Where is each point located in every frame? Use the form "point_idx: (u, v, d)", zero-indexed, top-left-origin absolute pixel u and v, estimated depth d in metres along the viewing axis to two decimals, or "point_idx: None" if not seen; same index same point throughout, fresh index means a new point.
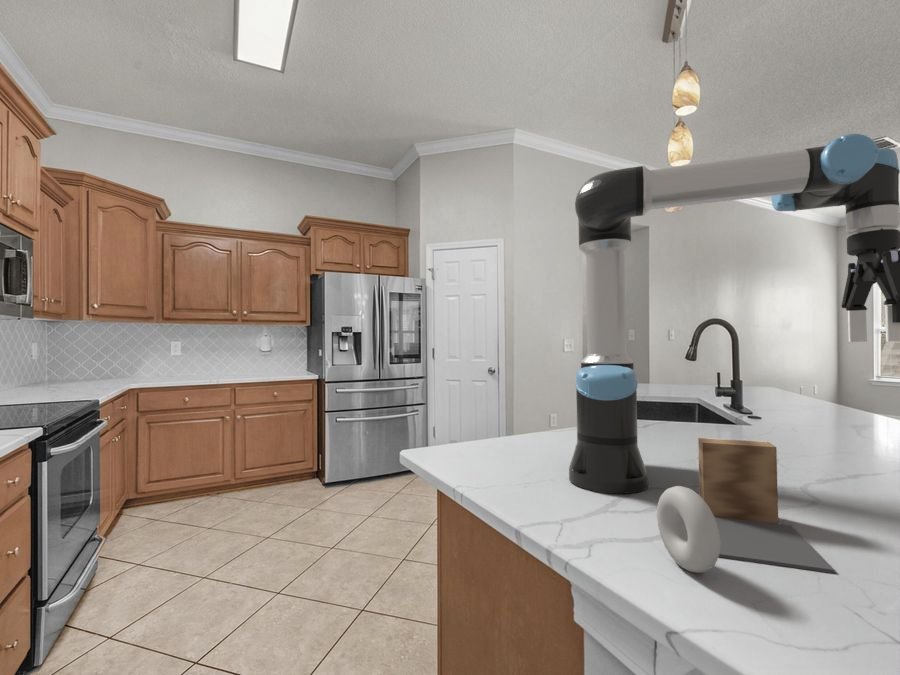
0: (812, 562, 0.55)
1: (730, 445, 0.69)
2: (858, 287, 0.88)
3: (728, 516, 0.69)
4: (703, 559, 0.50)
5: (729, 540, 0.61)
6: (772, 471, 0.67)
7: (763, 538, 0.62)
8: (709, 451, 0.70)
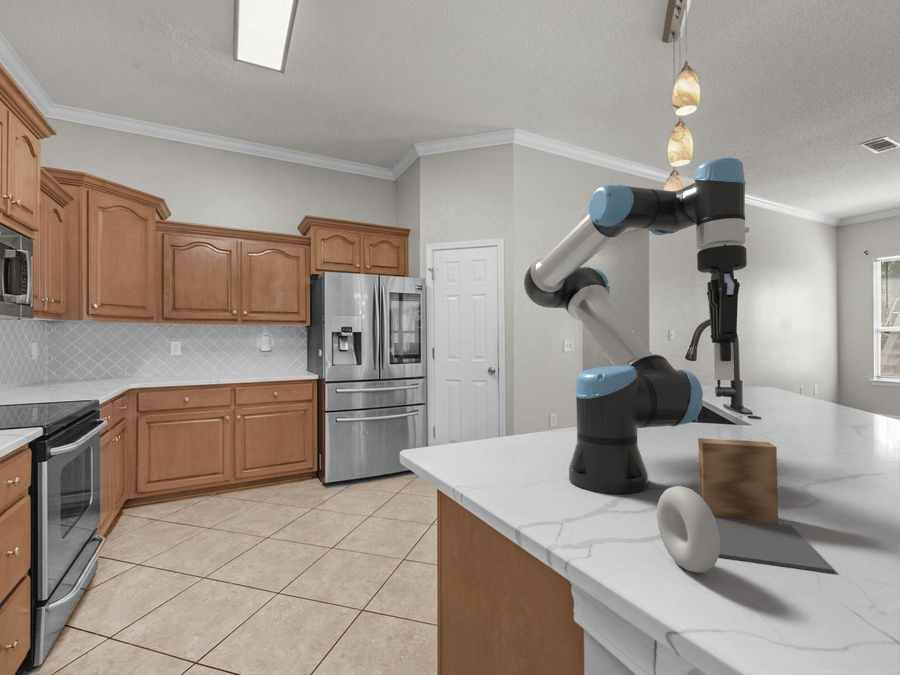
0: (812, 562, 0.55)
1: (730, 445, 0.69)
2: (715, 308, 0.79)
3: (728, 516, 0.69)
4: (703, 559, 0.50)
5: (729, 540, 0.61)
6: (772, 471, 0.67)
7: (763, 538, 0.62)
8: (709, 451, 0.70)
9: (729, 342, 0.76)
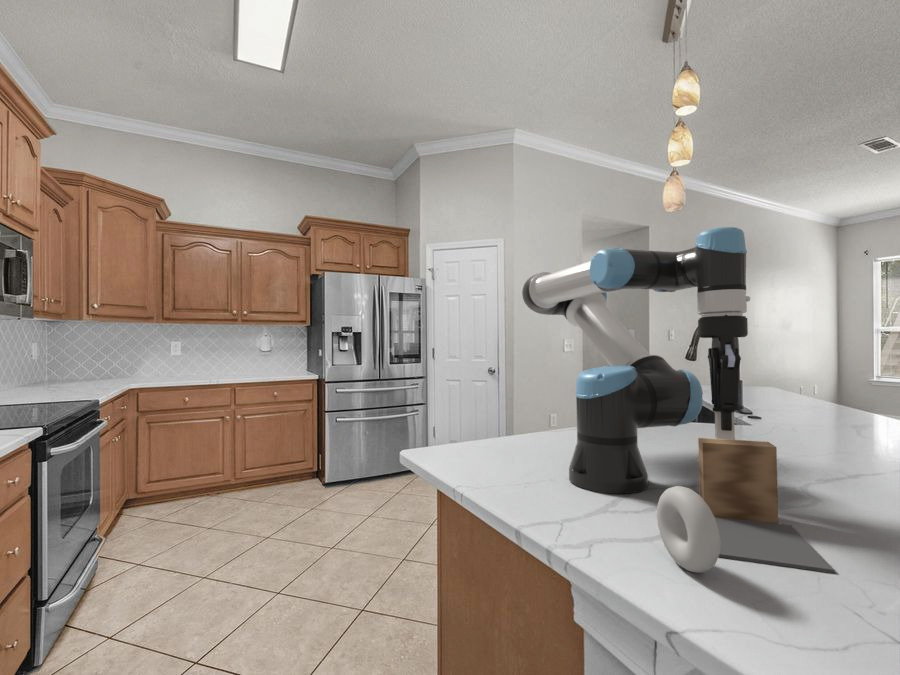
0: (812, 562, 0.55)
1: (730, 445, 0.69)
2: (716, 375, 0.79)
3: (728, 516, 0.69)
4: (703, 558, 0.50)
5: (729, 540, 0.61)
6: (772, 471, 0.67)
7: (763, 538, 0.62)
8: (709, 451, 0.70)
9: (730, 412, 0.76)
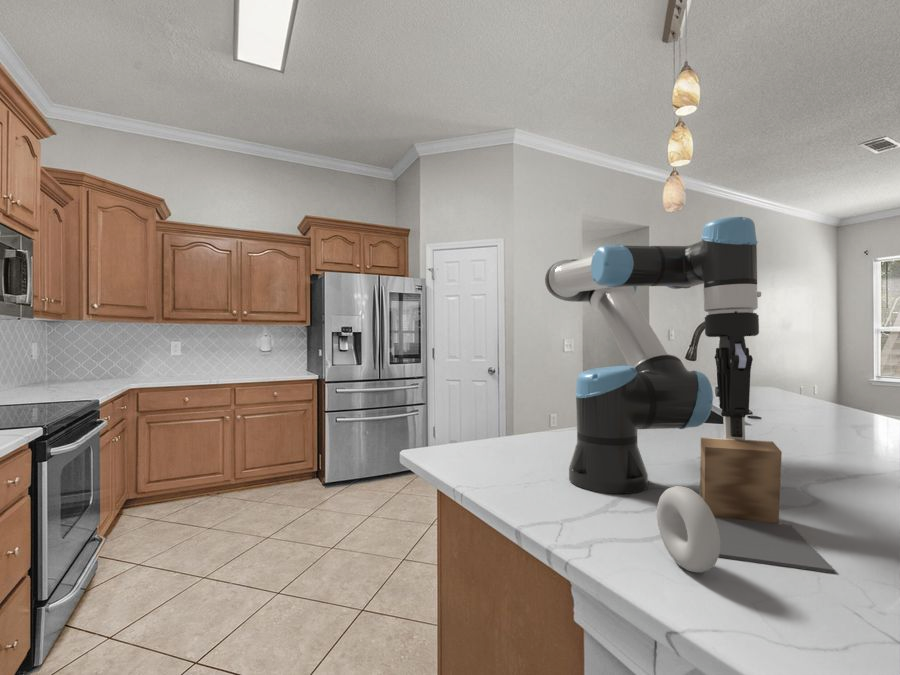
0: (812, 562, 0.55)
1: (734, 449, 0.67)
2: (724, 377, 0.73)
3: (728, 516, 0.69)
4: (703, 558, 0.50)
5: (729, 540, 0.61)
6: (775, 475, 0.66)
7: (763, 538, 0.62)
8: (712, 455, 0.69)
9: (740, 417, 0.70)
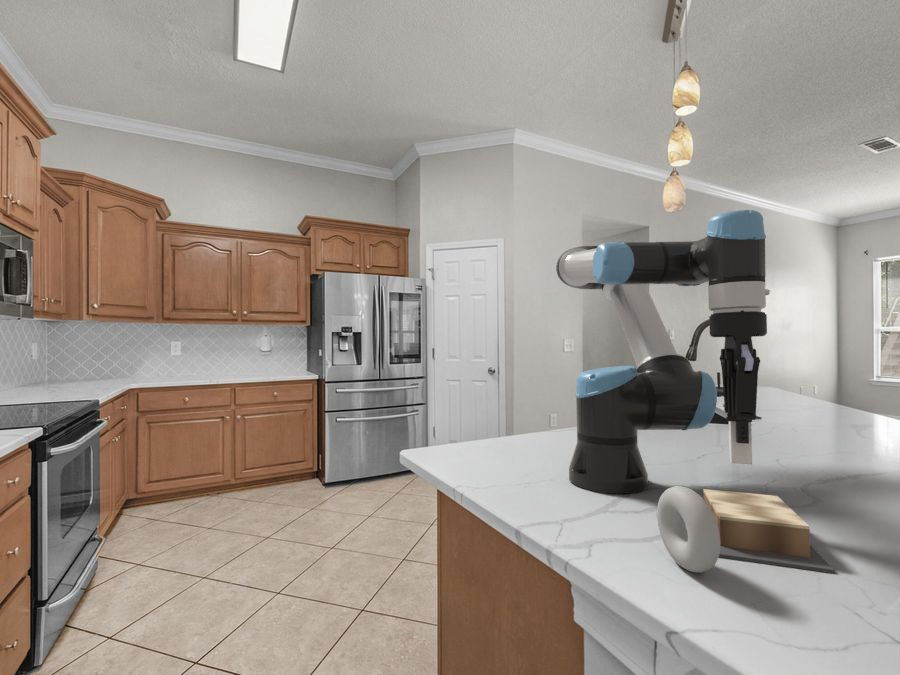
0: (812, 562, 0.55)
1: None
2: (730, 380, 0.69)
3: None
4: (703, 558, 0.50)
5: None
6: None
7: None
8: None
9: (747, 422, 0.66)
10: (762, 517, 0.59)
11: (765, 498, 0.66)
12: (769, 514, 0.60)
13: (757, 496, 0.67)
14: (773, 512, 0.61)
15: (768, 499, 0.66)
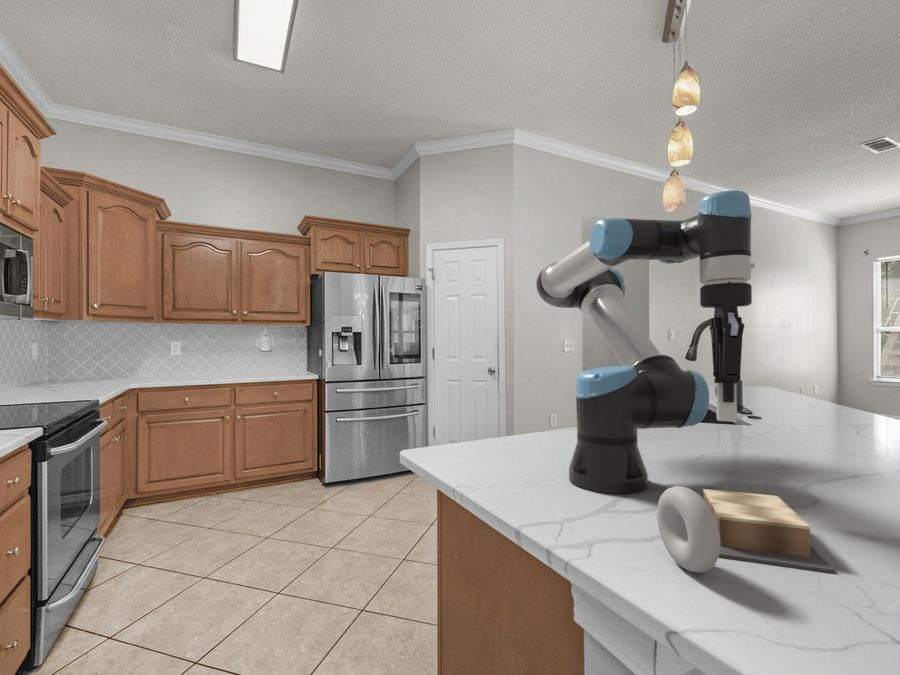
0: (812, 562, 0.55)
1: None
2: (718, 346, 0.76)
3: None
4: (703, 559, 0.50)
5: None
6: None
7: None
8: None
9: (732, 383, 0.73)
10: (762, 517, 0.59)
11: (765, 498, 0.66)
12: (769, 514, 0.60)
13: (757, 496, 0.67)
14: (773, 512, 0.61)
15: (768, 499, 0.66)
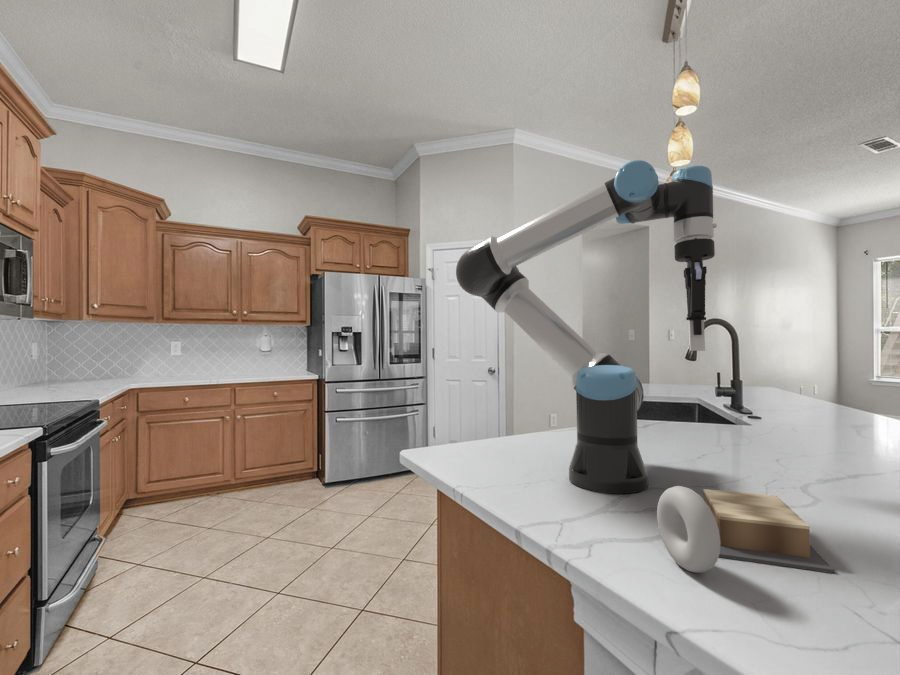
0: (812, 562, 0.55)
1: None
2: (689, 291, 0.95)
3: None
4: (703, 559, 0.50)
5: None
6: None
7: None
8: None
9: (700, 319, 0.92)
10: (762, 517, 0.59)
11: (765, 498, 0.66)
12: (769, 514, 0.60)
13: (757, 496, 0.67)
14: (773, 512, 0.61)
15: (768, 499, 0.66)
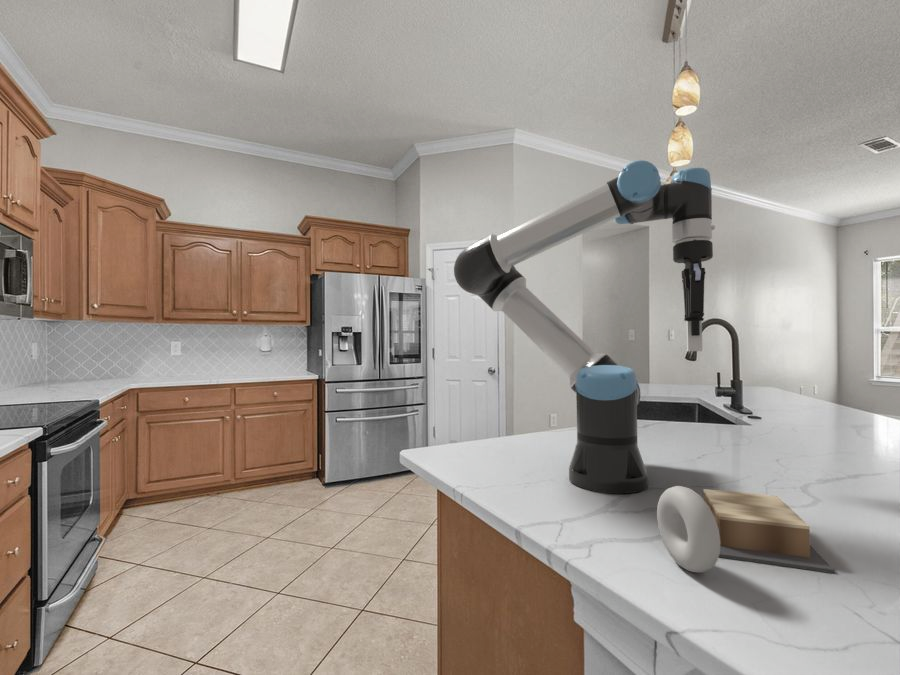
0: (812, 562, 0.55)
1: None
2: (687, 292, 0.96)
3: None
4: (703, 558, 0.50)
5: None
6: None
7: None
8: None
9: (698, 320, 0.92)
10: (762, 517, 0.59)
11: (765, 498, 0.66)
12: (769, 514, 0.60)
13: (757, 496, 0.67)
14: (773, 512, 0.61)
15: (768, 499, 0.66)
